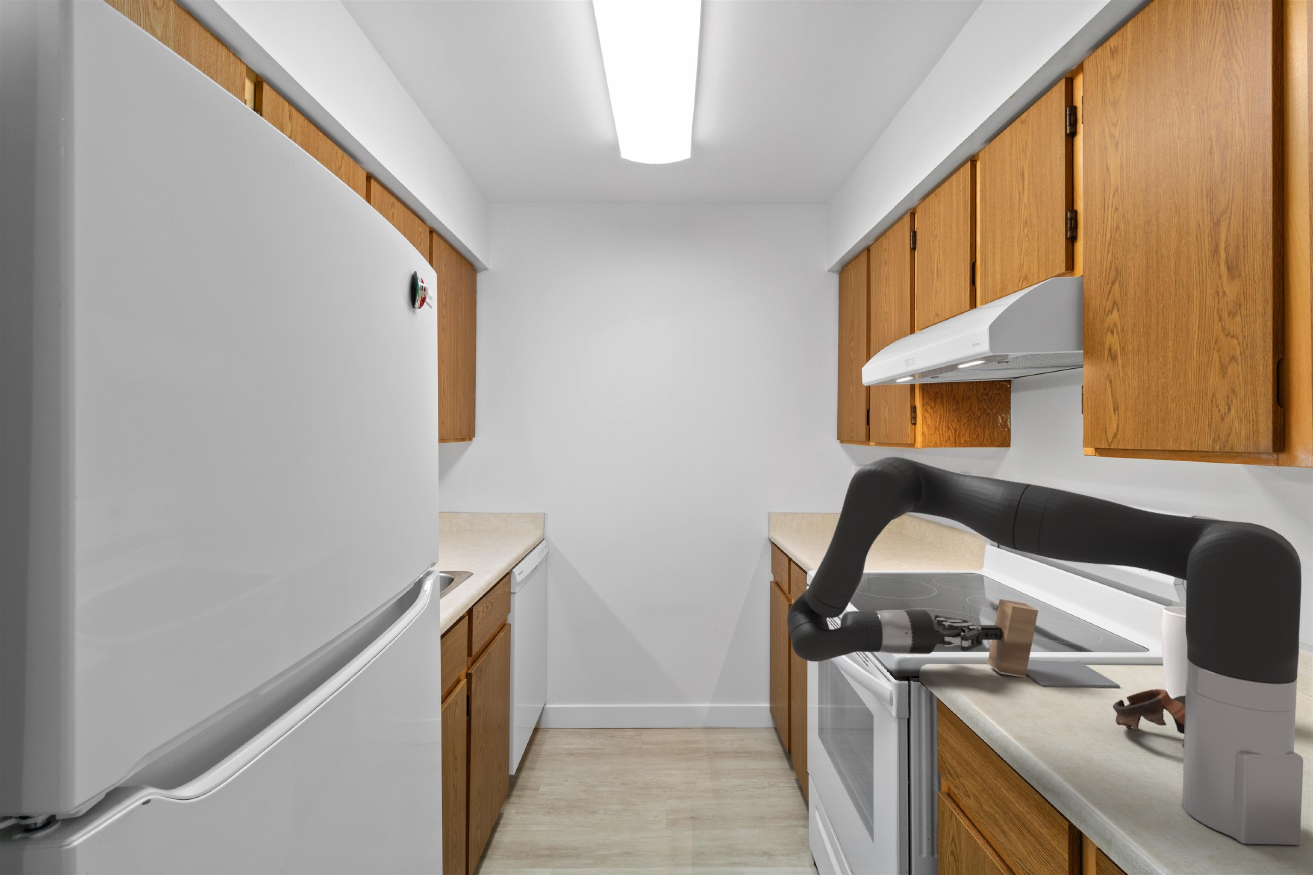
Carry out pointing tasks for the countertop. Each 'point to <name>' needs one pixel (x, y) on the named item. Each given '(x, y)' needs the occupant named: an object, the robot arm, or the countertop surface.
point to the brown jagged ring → (1150, 709)
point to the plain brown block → (1013, 638)
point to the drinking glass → (1174, 650)
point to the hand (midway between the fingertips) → (999, 632)
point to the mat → (1066, 674)
